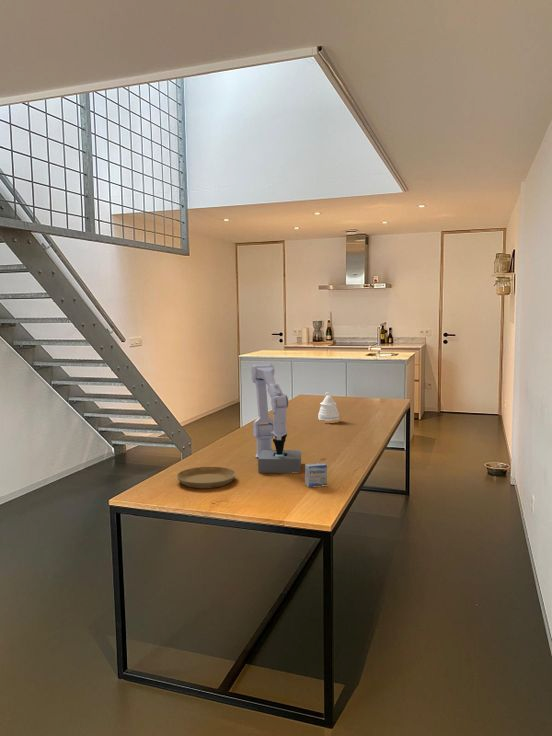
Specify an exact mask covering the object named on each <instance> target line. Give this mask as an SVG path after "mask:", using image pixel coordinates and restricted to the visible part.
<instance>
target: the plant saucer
mask: <svg viewBox="0 0 552 736" xmlns="http://www.w3.org/2000/svg"><path fill="white" fill-rule="evenodd" d="M236 476H237V472H236V471H235V470H233V469H231V468H227V467H222V466H221V467H220V466H200V467H191V468H188V469H184V470H181V471H180V472H178V473H177V474H176V478H177V480H178V481H179V482H180V483H181V484H182V485H183V486H186V487H189V488H193V489H194V488H195V489H215V488H219V486H220V487H224V486H225V485H228V484H229V483H231V482H232V481H233V480H234V479H235V477H236ZM214 487H215V488H214Z"/></svg>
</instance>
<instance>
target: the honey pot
mask: <svg viewBox="0 0 552 736" xmlns="http://www.w3.org/2000/svg"><path fill="white" fill-rule="evenodd" d="M324 394H325V396H324V399H323V400H322V402H320V403H319V404H320V408H319V412H318V413H317V414H318V415H317V416H318V418H317V420H318V419H319V420H325V421H332V420H338V419H339V420H340V413H339V410H338V407H337V403H336V402H335V400H334V398H333V397H332V396H331V395H330V392H325V393H324Z"/></svg>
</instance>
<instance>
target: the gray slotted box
mask: <svg viewBox="0 0 552 736" xmlns="http://www.w3.org/2000/svg"><path fill="white" fill-rule="evenodd" d="M275 454H277V452H276V449H272V450H262V451H261V453H260V456H259V458H257V459H258V460H257V465H258V466H257V467H258V469H257V471H258V473H259V474H261V473H263V474H264V473H267V474H273V473H274V474H277V473H279V474H296V473H295V472H300V473H301V469H300V468H302V450H301V449H283V452H282V454H284V456H275ZM292 472H294V473H292Z"/></svg>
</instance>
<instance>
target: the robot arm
mask: <svg viewBox="0 0 552 736" xmlns="http://www.w3.org/2000/svg"><path fill="white" fill-rule="evenodd" d="M250 372H251V381H252V383H254V384H255V388H256V400H257V401H256V402H257V413H258V417H257V418H256V419H255V420H254V421H253V423H252V424H253V425H252V426H253V427H252V435H253V436H254V438H256V454H255V457H254V458H257V459H258V458H259V456H260V453H261V451H262V450H273V447H272V446H273V443H274V447H275V450H276V452H277V455H282V452H283V450H284V448H285V443H286V441H287V439H286V438H287V436H288V431H287V408H288V407H289V398H288V395H287V394H285V393H284V392H283V391H282V389H281V387H280V385H279V384H278V383H276V380H275V377H274V375H275V366H274V365H273V364H272V363H271V364H269V363H268V364H253V365H252V366H251V371H250ZM267 392H268V393H267ZM268 395H269V397H270V404H271V409H272V410H271V411H272V414H273V415H272V417H273V419H272V418H271V417H269V407H268Z"/></svg>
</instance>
